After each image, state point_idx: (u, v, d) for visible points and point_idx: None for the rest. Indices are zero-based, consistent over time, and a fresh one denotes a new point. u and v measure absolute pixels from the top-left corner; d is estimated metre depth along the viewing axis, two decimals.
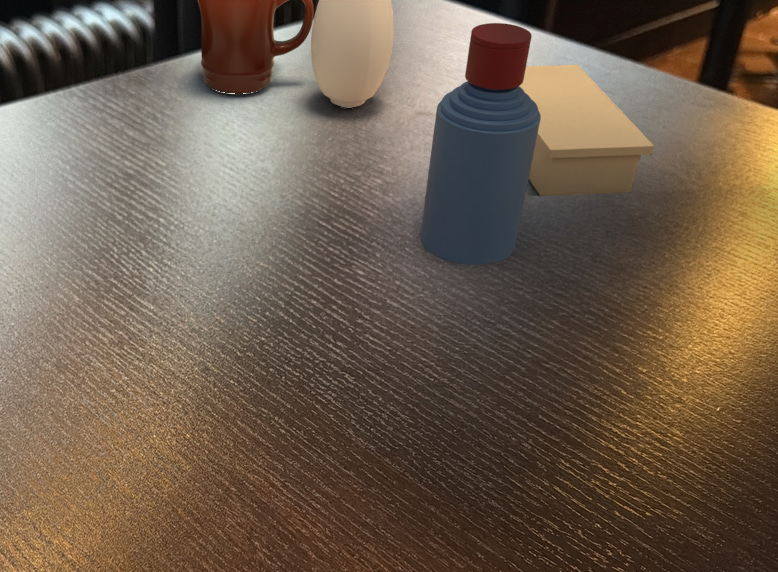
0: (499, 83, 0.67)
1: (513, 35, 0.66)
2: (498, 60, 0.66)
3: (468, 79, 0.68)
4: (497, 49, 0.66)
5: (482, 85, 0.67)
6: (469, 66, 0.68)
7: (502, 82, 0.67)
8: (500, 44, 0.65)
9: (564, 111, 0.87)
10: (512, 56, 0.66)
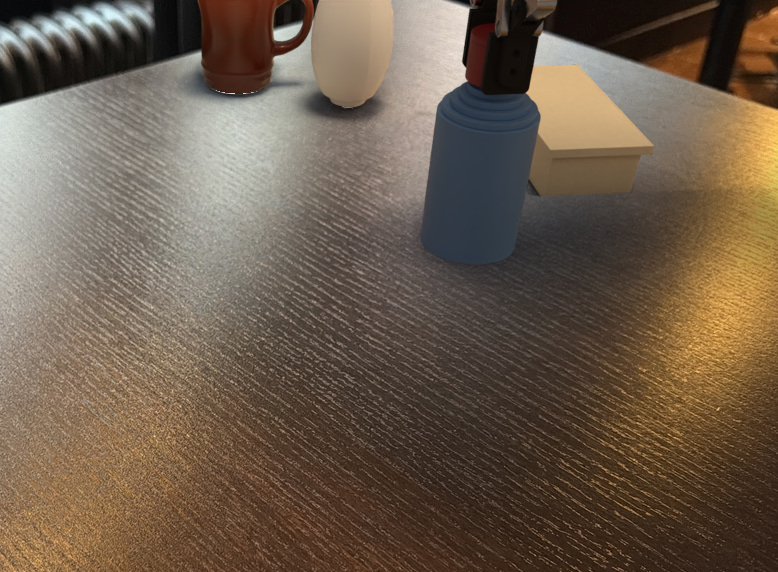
0: None
1: None
2: None
3: (468, 79, 0.68)
4: None
5: None
6: (469, 66, 0.68)
7: None
8: None
9: (564, 111, 0.87)
10: None
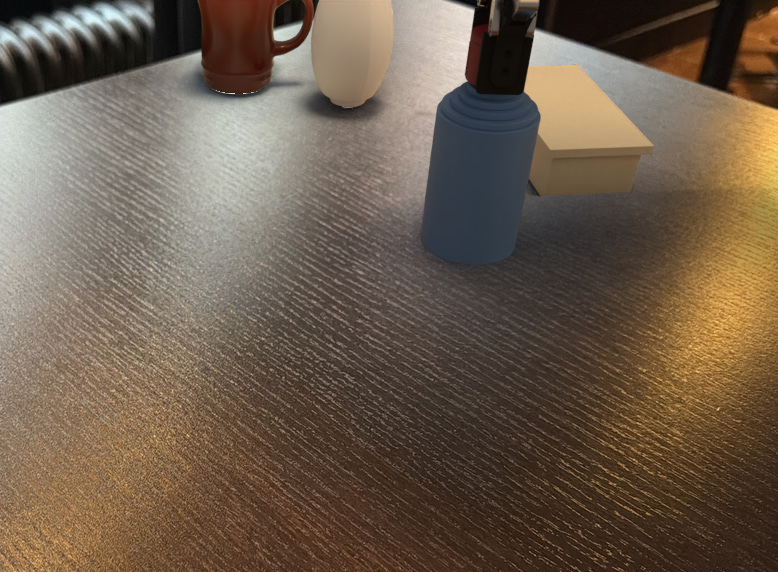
0: None
1: None
2: None
3: None
4: None
5: None
6: None
7: None
8: None
9: (564, 111, 0.87)
10: None
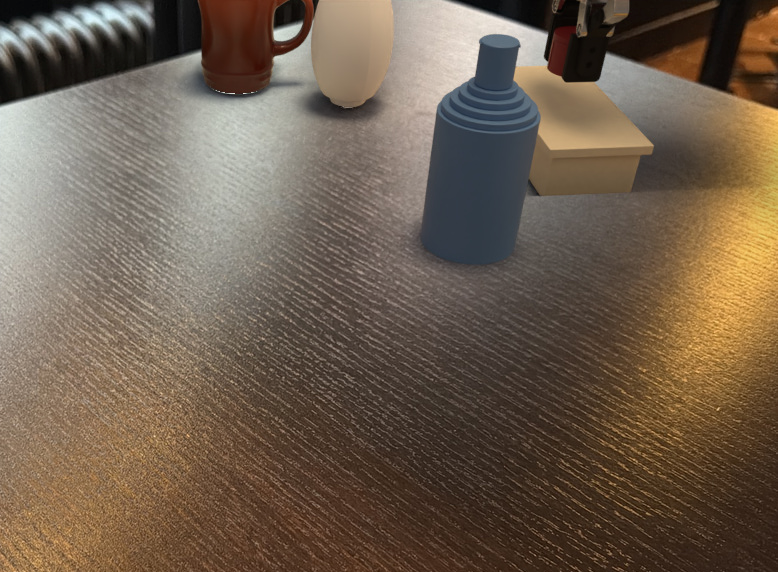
0: None
1: (568, 31, 0.85)
2: None
3: None
4: None
5: None
6: None
7: None
8: None
9: (564, 111, 0.87)
10: None
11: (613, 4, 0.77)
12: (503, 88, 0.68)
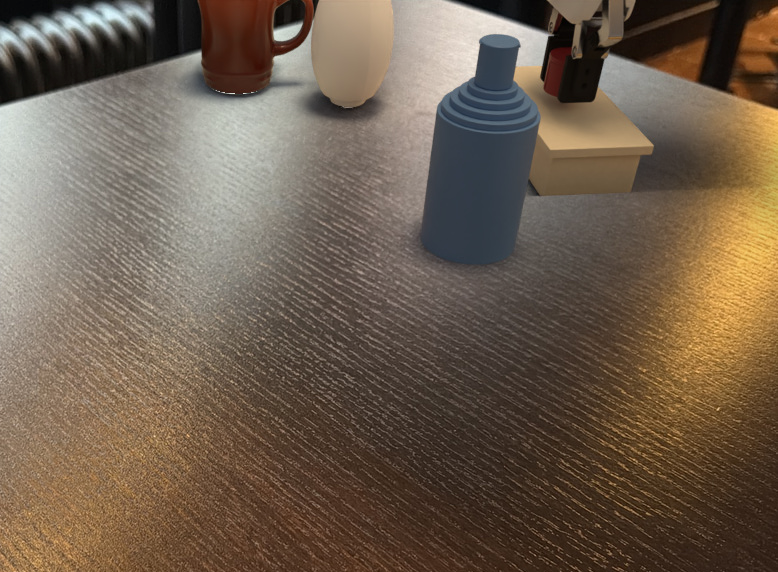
0: None
1: (564, 52, 0.86)
2: None
3: None
4: None
5: None
6: None
7: None
8: None
9: (564, 111, 0.87)
10: None
11: (607, 28, 0.78)
12: (503, 88, 0.68)
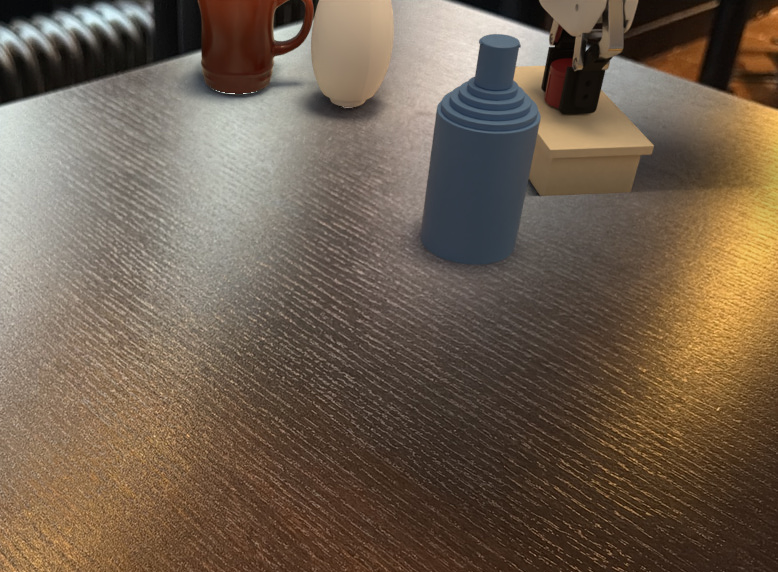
0: None
1: (564, 64, 0.87)
2: None
3: None
4: None
5: None
6: None
7: None
8: None
9: None
10: None
11: (607, 40, 0.79)
12: (503, 88, 0.68)
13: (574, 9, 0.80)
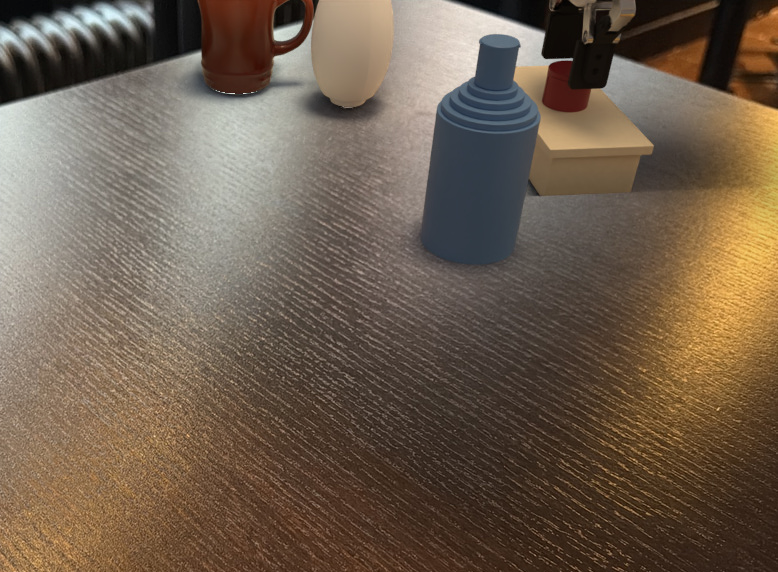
0: None
1: (562, 66, 0.87)
2: None
3: None
4: None
5: None
6: None
7: None
8: None
9: None
10: None
11: (618, 4, 0.76)
12: (503, 88, 0.68)
13: None
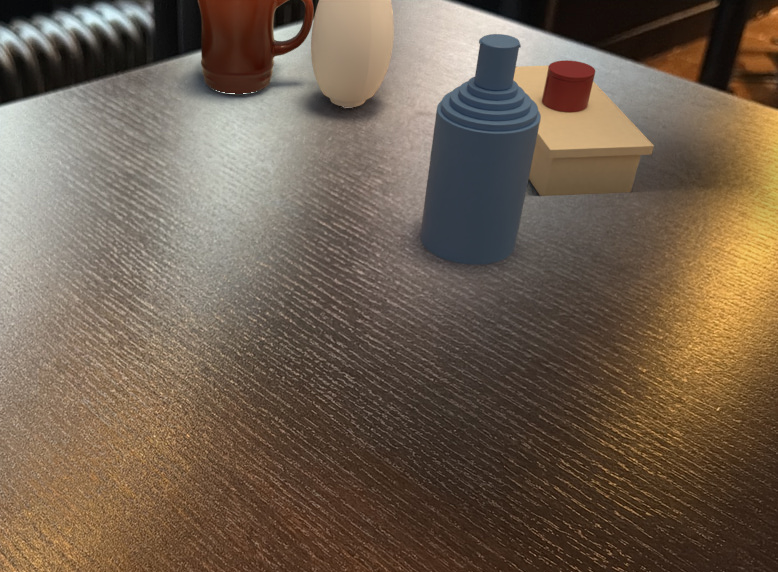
0: None
1: (562, 66, 0.87)
2: None
3: None
4: None
5: None
6: None
7: None
8: None
9: None
10: None
11: None
12: (503, 88, 0.68)
13: None
